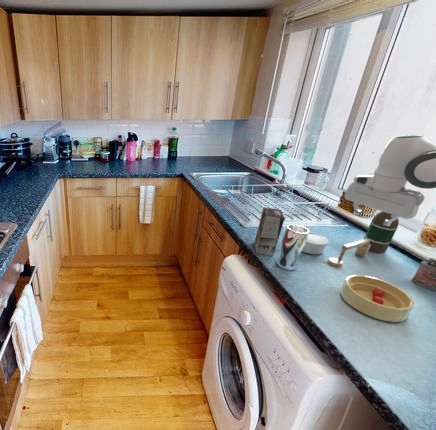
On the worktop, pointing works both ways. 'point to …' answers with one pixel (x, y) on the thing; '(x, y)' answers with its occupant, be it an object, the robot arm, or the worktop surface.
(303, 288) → the worktop surface
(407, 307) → the bowl
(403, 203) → the robot arm
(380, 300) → the tomato
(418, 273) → the red printed box
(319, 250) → the ramekin
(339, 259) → the brass bent handle
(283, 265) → the beer glass
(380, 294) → the tomato
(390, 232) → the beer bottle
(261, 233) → the coffee box
